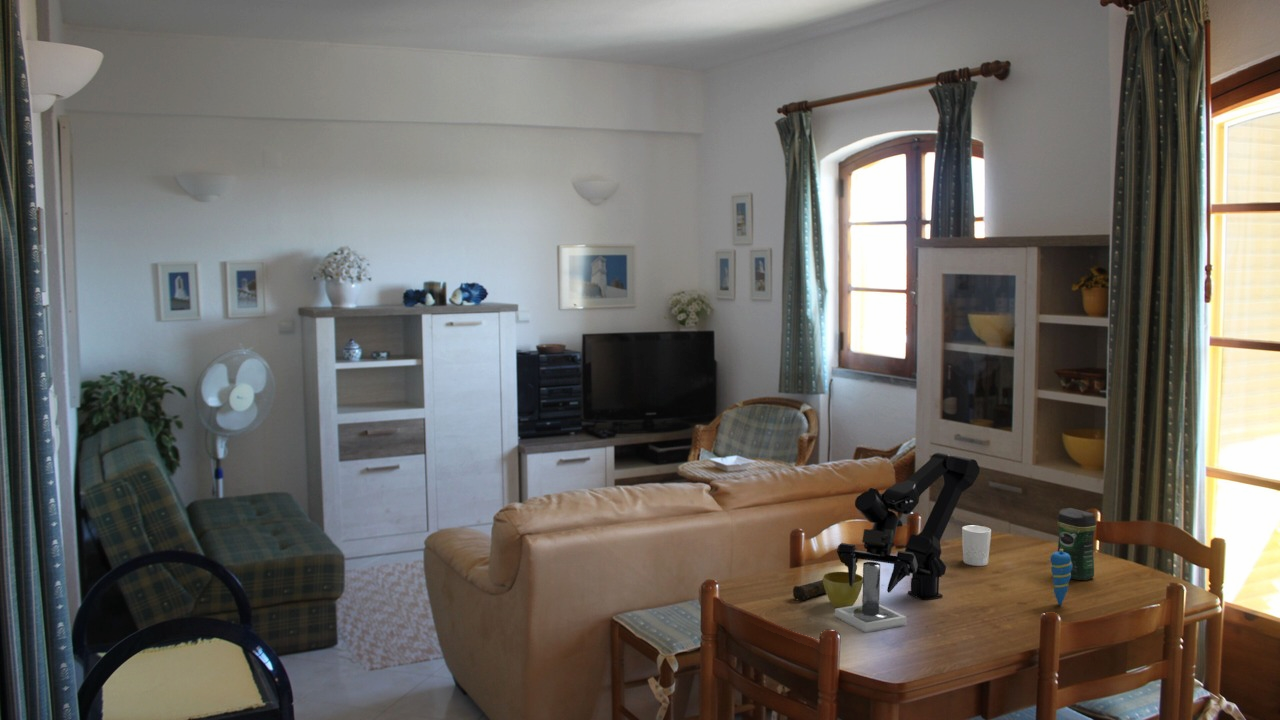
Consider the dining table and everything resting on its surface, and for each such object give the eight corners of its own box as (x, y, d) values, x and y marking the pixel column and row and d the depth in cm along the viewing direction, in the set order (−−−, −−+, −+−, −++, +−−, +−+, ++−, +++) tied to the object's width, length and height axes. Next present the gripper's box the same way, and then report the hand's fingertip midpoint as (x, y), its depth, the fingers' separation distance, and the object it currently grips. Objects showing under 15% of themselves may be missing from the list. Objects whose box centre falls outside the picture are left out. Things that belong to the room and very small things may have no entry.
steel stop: (873, 611, 254) (874, 557, 253) (894, 621, 247) (895, 566, 246) (846, 616, 251) (848, 561, 250) (867, 626, 244) (868, 570, 242)
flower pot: (819, 598, 266) (819, 570, 265) (858, 598, 266) (859, 571, 265) (825, 611, 256) (825, 583, 255) (866, 611, 256) (866, 583, 255)
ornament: (1060, 609, 258) (1063, 550, 256) (1043, 603, 262) (1046, 545, 261) (1074, 606, 260) (1077, 548, 259) (1058, 600, 265) (1060, 543, 263)
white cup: (959, 558, 302) (960, 524, 301) (987, 559, 301) (988, 525, 300) (963, 566, 294) (964, 531, 293) (992, 567, 293) (993, 532, 292)
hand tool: (802, 603, 262) (803, 585, 262) (791, 599, 266) (792, 581, 265) (854, 590, 273) (855, 573, 273) (843, 586, 276) (844, 569, 276)
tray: (874, 609, 257) (874, 602, 257) (906, 625, 246) (906, 617, 246) (834, 616, 252) (834, 608, 252) (865, 632, 241) (865, 624, 241)
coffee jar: (1099, 578, 283) (1102, 512, 281) (1079, 582, 279) (1082, 515, 278) (1069, 569, 292) (1072, 504, 290) (1050, 573, 288) (1052, 507, 286)
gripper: (839, 510, 255) (824, 566, 246) (916, 520, 246) (902, 577, 237) (849, 534, 262) (834, 589, 254) (923, 544, 253) (910, 601, 245)
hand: (869, 588), depth 247 cm, fingers open, 9 cm apart
